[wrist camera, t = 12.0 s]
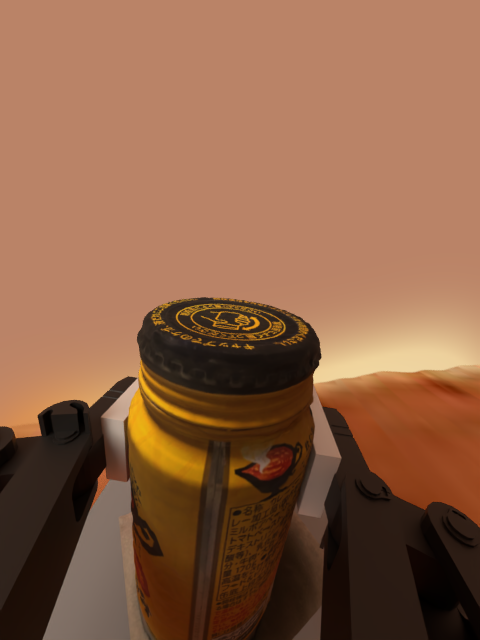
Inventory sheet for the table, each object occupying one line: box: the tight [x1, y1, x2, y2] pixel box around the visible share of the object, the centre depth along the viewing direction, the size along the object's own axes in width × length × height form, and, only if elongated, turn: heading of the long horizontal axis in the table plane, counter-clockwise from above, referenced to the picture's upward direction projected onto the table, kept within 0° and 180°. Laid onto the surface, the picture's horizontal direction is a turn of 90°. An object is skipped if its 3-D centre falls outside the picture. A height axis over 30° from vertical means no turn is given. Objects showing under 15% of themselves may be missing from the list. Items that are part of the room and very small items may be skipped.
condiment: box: [119, 297, 324, 640], centre depth 9 cm, size 7×8×12 cm
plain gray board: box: [43, 478, 328, 640], centre depth 12 cm, size 18×16×1 cm
